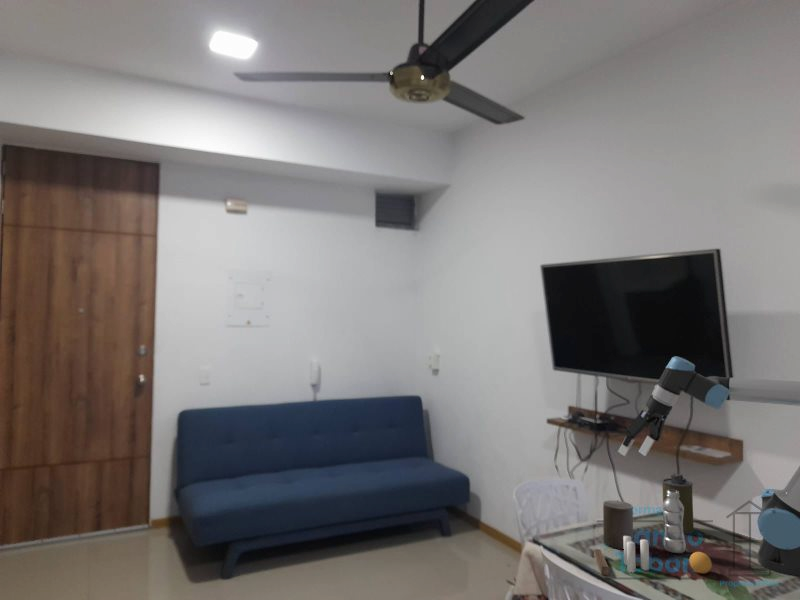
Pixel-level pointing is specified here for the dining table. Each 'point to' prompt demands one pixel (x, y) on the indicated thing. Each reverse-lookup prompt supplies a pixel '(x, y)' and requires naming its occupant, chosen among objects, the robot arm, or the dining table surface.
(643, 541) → the front pin
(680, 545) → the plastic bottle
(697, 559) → the ball
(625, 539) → the pin
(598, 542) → the dining table surface
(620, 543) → the pillar candle
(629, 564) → the pin
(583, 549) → the dining table surface
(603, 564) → the brown wooden stick
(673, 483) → the canister
